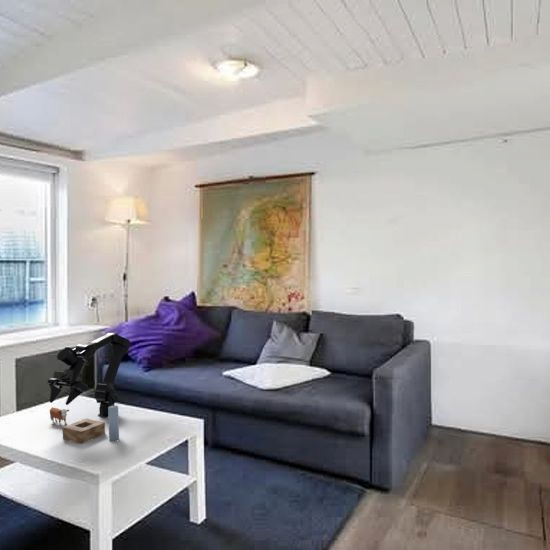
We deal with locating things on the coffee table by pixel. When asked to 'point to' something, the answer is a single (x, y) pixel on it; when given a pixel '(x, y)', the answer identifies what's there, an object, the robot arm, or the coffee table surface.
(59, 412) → the bull figurine
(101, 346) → the robot arm
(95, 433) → the socket
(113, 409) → the dowel
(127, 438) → the coffee table surface
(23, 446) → the coffee table surface
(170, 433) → the coffee table surface
